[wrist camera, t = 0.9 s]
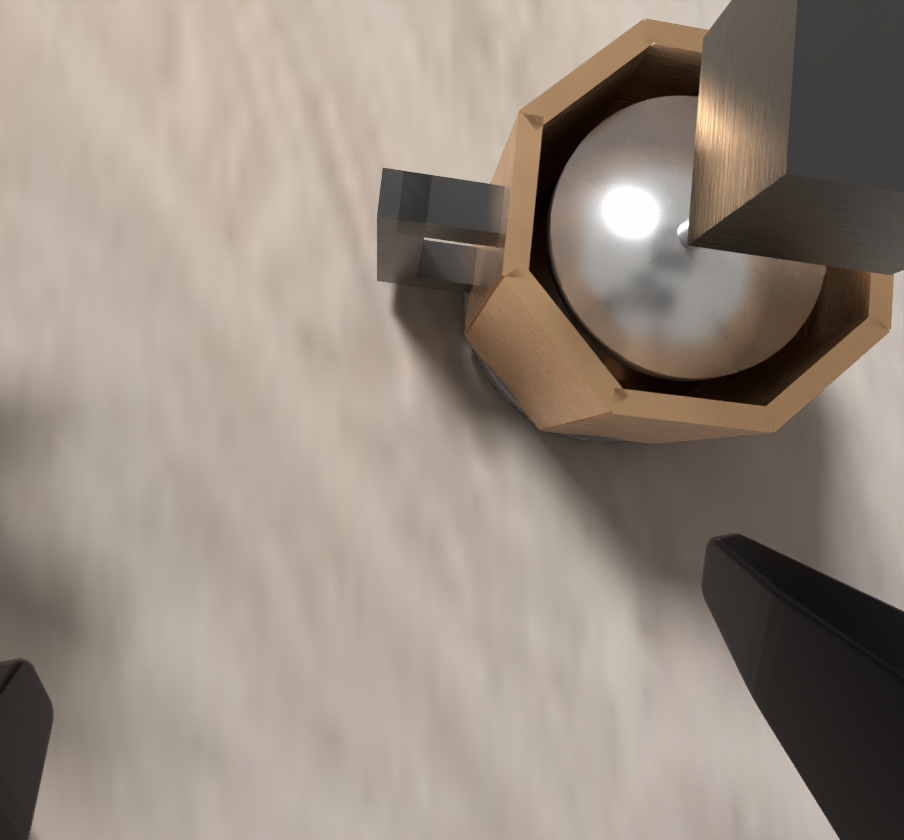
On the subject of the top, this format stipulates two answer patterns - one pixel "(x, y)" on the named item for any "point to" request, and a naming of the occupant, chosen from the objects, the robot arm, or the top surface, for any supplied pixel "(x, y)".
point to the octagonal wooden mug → (536, 299)
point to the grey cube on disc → (738, 190)
